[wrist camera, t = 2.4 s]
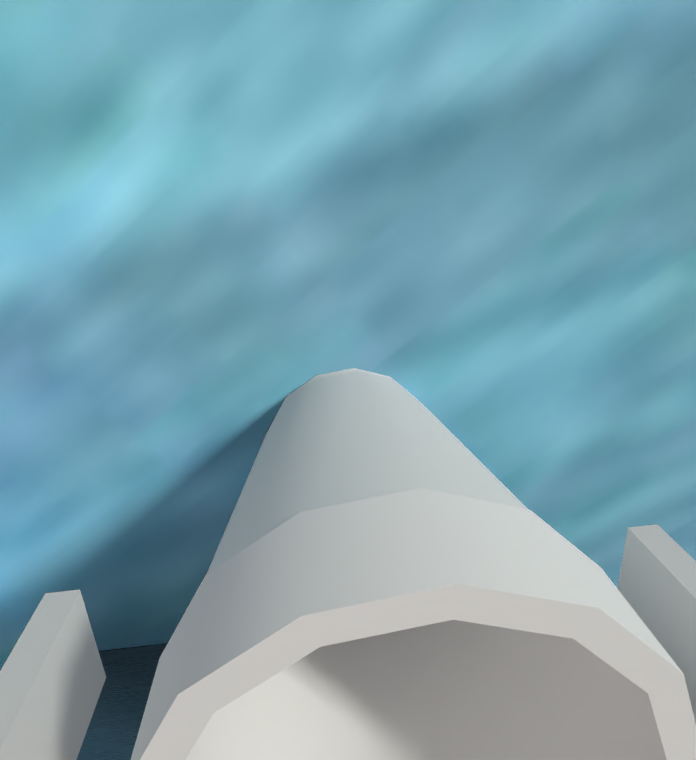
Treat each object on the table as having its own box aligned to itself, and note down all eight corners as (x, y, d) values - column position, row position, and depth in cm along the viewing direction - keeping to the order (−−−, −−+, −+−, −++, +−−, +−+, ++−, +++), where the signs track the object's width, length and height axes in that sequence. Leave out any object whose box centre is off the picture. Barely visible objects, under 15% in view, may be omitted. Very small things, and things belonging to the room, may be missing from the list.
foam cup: (322, 580, 23) (349, 1028, 11) (174, 427, 20) (-17, 817, 8) (509, 460, 22) (777, 816, 10) (383, 276, 19) (544, 462, 6)
